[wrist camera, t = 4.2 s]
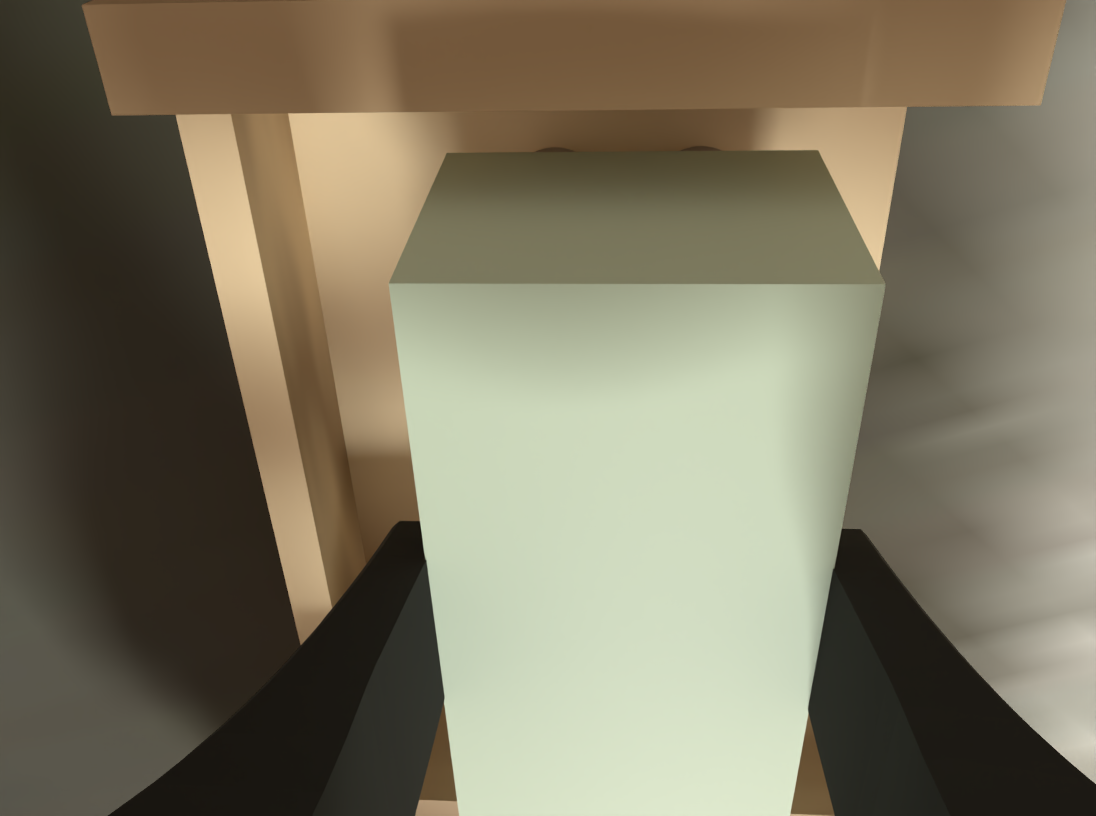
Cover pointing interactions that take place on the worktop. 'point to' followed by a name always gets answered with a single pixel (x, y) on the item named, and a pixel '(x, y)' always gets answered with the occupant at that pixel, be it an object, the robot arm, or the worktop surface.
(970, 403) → the worktop surface
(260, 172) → the peg cradle
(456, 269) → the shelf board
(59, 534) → the worktop surface
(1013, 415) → the worktop surface
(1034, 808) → the robot arm
